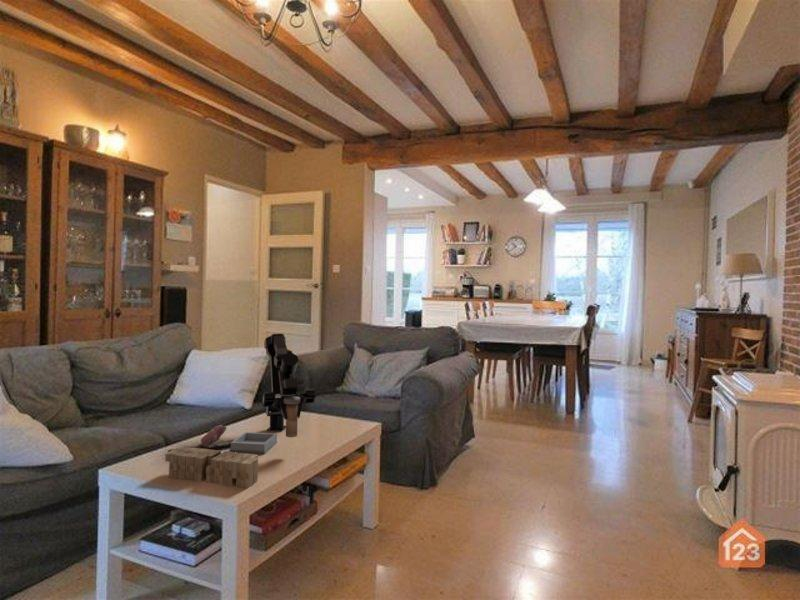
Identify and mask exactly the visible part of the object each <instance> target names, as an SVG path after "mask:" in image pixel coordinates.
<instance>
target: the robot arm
mask: <svg viewBox="0 0 800 600" xmlns="http://www.w3.org/2000/svg"><path fill="white" fill-rule="evenodd" d="M263 342H264V344H263V345H264V349H265V354H266V355H267V356H268V358H269V359H270V361H269V362H270V379H271V382H270V383H271V391H265V392H264V393H263V394H262V395H263V396H262V407H263V408H264V407H265V414H266V416H267V417H269V427H268V428H267V429H266V431H268V432H269V431H271V432H282V431H284V430H286V425H285V421H286V418H287V417H286V404H285V403H284V398H285V397H289V396H297V397H300V403H298V419H300V417H301V411H302V408H303V406H306V405H307V404H313V403H315V400H316V398H317V391H316V390H315V388H313V389H311V388H310V389H304V392H303V393H298V392H299V387H302V386H304V384H305V381H304V376H302V375H301V376H297V377H296V376H295V373H296V371H297V367H298V365H299V364H298V363H299V357H298V356H297V354H295V353H293V350H290V349H288V347H287V342H286V337H285V334H284V333H272V334H270V336H267V337H265V339H264V341H263Z"/></svg>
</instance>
